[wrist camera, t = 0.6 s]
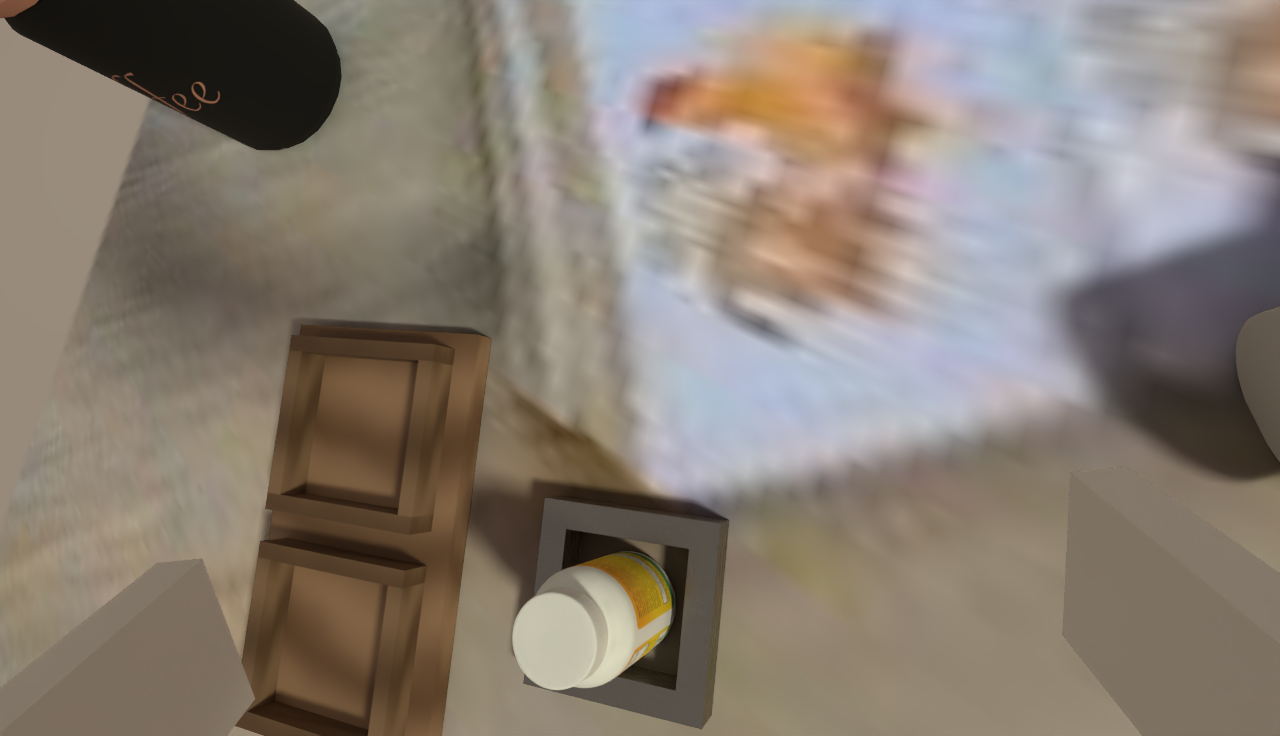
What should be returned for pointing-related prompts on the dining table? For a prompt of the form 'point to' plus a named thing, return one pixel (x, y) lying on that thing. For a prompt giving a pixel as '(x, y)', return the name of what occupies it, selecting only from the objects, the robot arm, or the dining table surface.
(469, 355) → the walnut rack
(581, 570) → the supplement bottle
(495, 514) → the dining table surface
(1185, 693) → the robot arm
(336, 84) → the coffee jar
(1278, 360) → the l-shaped cylinder
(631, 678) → the can holder
